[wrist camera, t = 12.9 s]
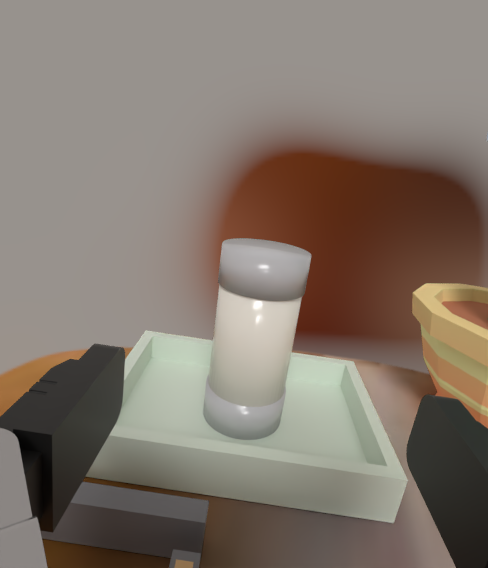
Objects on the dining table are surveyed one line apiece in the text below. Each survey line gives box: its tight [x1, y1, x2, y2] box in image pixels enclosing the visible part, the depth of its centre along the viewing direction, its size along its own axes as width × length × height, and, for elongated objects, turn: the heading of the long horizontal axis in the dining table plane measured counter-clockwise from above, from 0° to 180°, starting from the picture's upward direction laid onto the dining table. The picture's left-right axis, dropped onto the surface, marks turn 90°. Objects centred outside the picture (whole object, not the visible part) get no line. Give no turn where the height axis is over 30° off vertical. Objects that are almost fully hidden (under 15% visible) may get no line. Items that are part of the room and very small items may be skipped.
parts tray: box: [85, 331, 408, 523], centre depth 23 cm, size 15×11×2 cm
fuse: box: [203, 238, 311, 440], centre depth 22 cm, size 5×5×10 cm
